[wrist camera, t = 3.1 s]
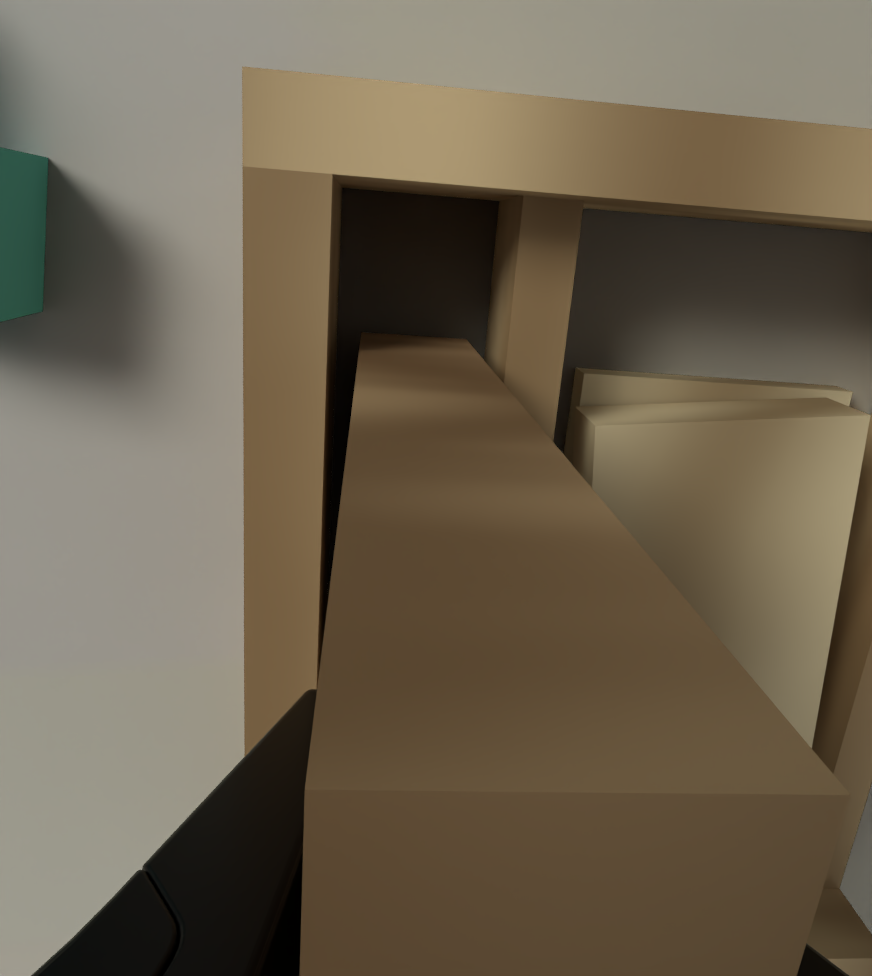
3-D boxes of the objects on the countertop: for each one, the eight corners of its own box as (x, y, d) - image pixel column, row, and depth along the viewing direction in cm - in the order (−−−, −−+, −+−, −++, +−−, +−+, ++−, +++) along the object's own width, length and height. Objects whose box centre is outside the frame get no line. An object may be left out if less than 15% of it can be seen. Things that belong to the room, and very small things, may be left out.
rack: (981, 174, 12) (1165, 158, 9) (788, 868, 17) (873, 999, 14) (275, 108, 11) (241, 66, 8) (268, 869, 16) (245, 1012, 13)
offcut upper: (826, 397, 13) (870, 415, 11) (775, 722, 15) (808, 765, 14) (574, 406, 12) (595, 425, 11) (561, 737, 14) (576, 781, 13)
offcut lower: (812, 378, 14) (852, 391, 13) (733, 708, 16) (761, 744, 15) (565, 360, 13) (584, 372, 12) (518, 704, 16) (531, 741, 14)
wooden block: (466, 339, 12) (850, 794, 2) (428, 772, 14) (535, 1849, 5) (361, 331, 12) (304, 794, 2) (341, 772, 14) (275, 1878, 5)
